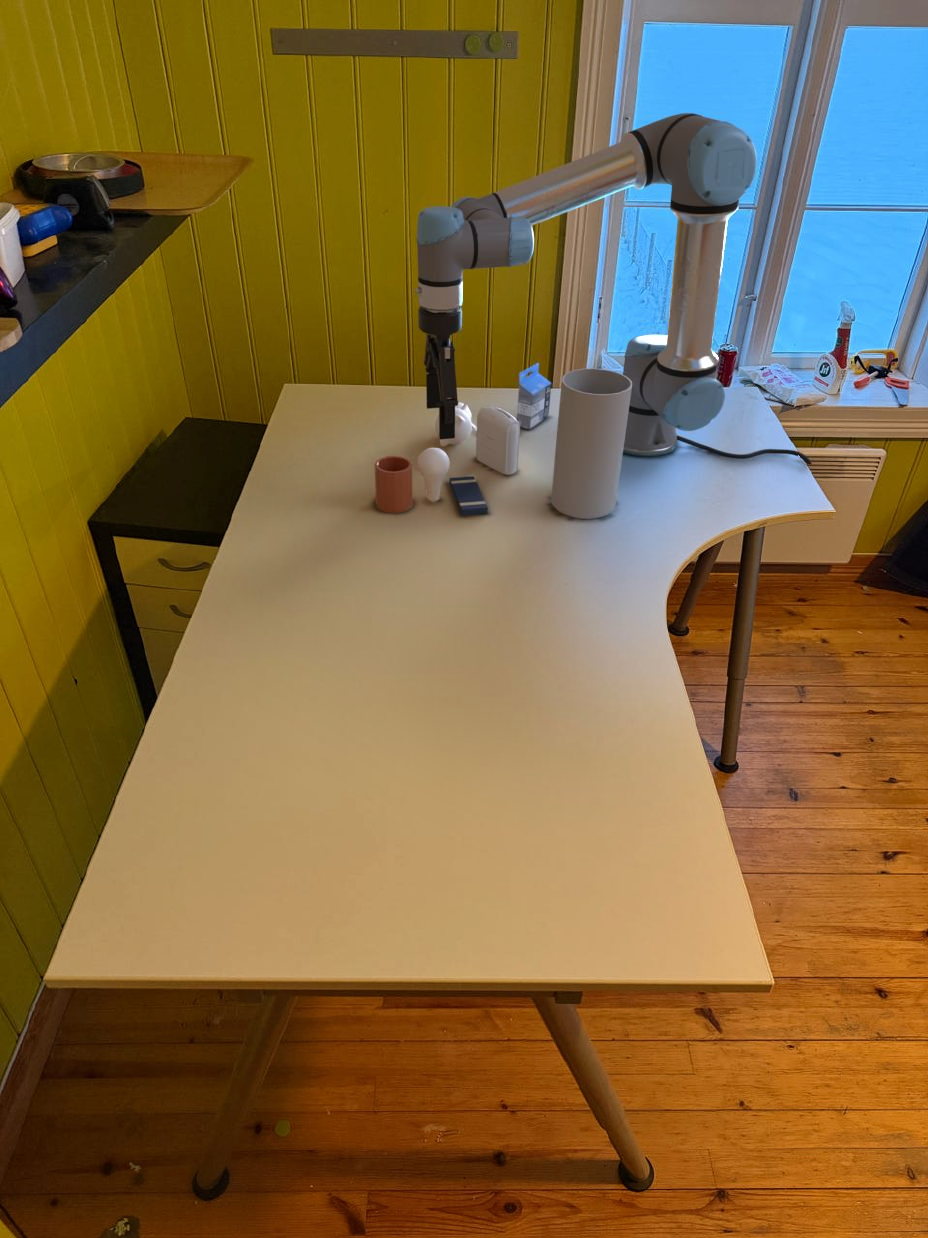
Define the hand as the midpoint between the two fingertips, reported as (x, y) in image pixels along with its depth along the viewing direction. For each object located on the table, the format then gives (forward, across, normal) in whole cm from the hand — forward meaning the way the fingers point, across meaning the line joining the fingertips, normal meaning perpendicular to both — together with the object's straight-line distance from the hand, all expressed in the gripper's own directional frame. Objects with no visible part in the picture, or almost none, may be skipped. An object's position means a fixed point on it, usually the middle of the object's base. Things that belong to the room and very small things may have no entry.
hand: (440, 422), depth 168 cm
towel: (+16, +1, +5) cm, 17 cm away
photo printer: (+16, -12, +14) cm, 25 cm away
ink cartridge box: (+16, -32, +27) cm, 45 cm away
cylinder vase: (+16, +7, +27) cm, 32 cm away
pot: (+16, +1, -9) cm, 18 cm away
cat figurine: (+16, -26, +9) cm, 32 cm away
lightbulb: (+16, +1, -2) cm, 16 cm away
